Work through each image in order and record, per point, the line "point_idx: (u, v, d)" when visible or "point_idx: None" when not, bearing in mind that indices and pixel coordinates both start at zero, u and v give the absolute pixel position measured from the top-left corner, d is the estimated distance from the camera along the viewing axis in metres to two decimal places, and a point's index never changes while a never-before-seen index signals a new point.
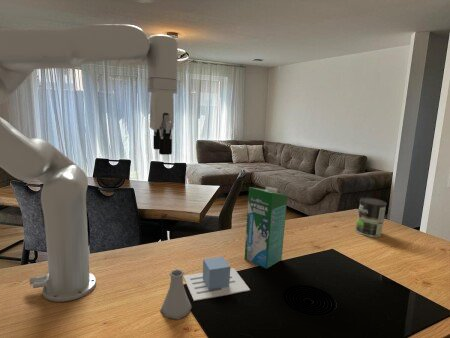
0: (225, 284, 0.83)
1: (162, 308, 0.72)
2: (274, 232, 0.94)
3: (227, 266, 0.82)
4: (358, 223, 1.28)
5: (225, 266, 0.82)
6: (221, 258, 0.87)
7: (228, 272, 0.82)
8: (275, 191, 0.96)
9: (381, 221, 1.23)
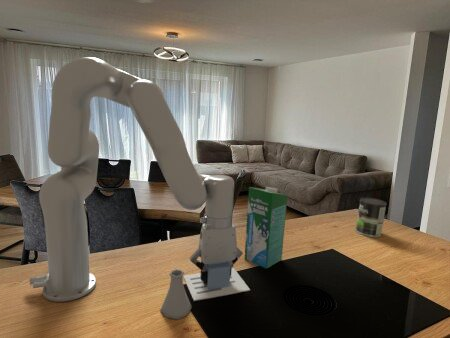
0: (225, 284, 0.83)
1: (162, 308, 0.72)
2: (274, 232, 0.94)
3: (227, 266, 0.82)
4: (358, 223, 1.28)
5: (225, 266, 0.82)
6: None
7: (228, 272, 0.82)
8: (275, 191, 0.96)
9: (381, 221, 1.23)
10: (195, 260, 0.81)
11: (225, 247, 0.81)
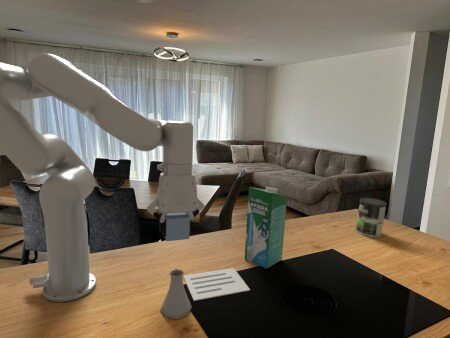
0: (185, 236, 0.79)
1: (162, 308, 0.72)
2: (274, 232, 0.94)
3: (187, 217, 0.78)
4: (358, 223, 1.28)
5: (184, 217, 0.78)
6: None
7: (188, 223, 0.79)
8: (275, 191, 0.96)
9: (381, 221, 1.23)
10: (152, 210, 0.77)
11: (184, 196, 0.77)
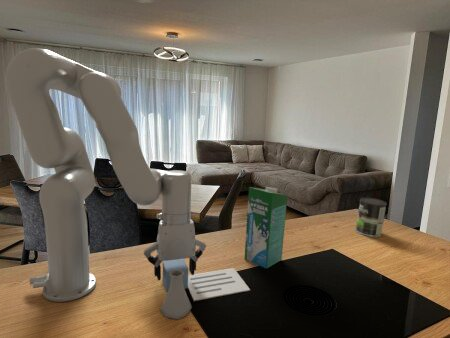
0: (184, 286, 0.82)
1: (162, 308, 0.72)
2: (274, 232, 0.94)
3: (185, 268, 0.81)
4: (358, 223, 1.28)
5: (183, 268, 0.81)
6: (182, 259, 0.86)
7: (186, 274, 0.81)
8: (275, 191, 0.96)
9: (381, 221, 1.23)
10: (148, 254, 0.79)
11: (183, 244, 0.79)
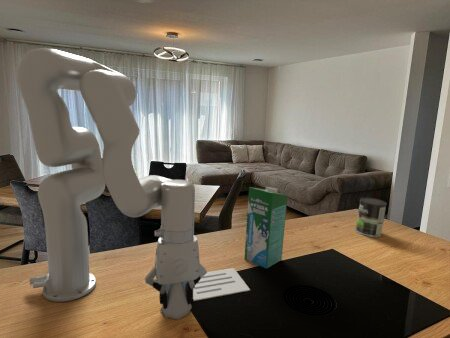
0: (184, 286, 0.82)
1: (162, 308, 0.72)
2: (274, 232, 0.94)
3: None
4: (358, 223, 1.28)
5: None
6: None
7: None
8: (275, 191, 0.96)
9: (381, 221, 1.23)
10: (151, 281, 0.69)
11: (185, 265, 0.69)
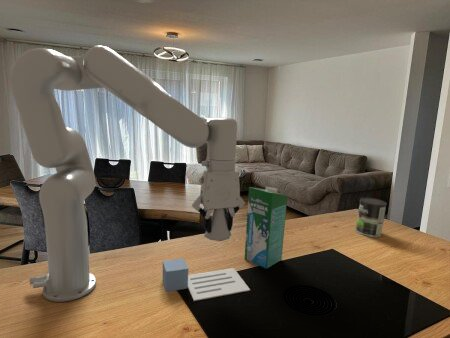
0: (184, 286, 0.82)
1: (206, 233, 0.81)
2: (274, 232, 0.94)
3: (185, 268, 0.81)
4: (358, 223, 1.28)
5: (183, 268, 0.81)
6: (182, 259, 0.86)
7: (186, 274, 0.81)
8: (275, 191, 0.96)
9: (381, 221, 1.23)
10: (198, 206, 0.78)
11: (228, 192, 0.78)
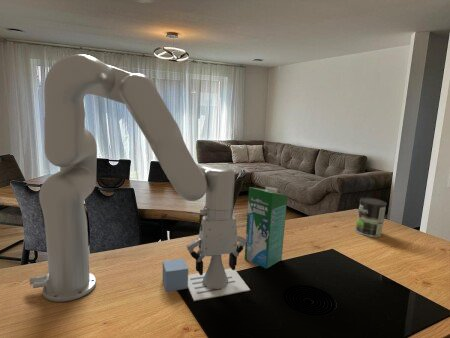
0: (184, 286, 0.82)
1: (203, 280, 0.84)
2: (274, 232, 0.94)
3: (185, 268, 0.81)
4: (358, 223, 1.28)
5: (183, 268, 0.81)
6: (182, 259, 0.86)
7: (186, 274, 0.81)
8: (275, 191, 0.96)
9: (381, 221, 1.23)
10: (192, 249, 0.80)
11: (225, 239, 0.80)
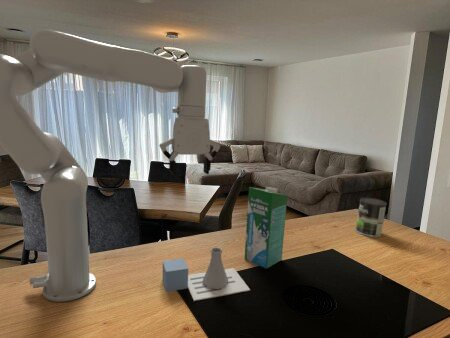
0: (184, 286, 0.82)
1: (203, 280, 0.84)
2: (274, 232, 0.94)
3: (185, 268, 0.81)
4: (358, 223, 1.28)
5: (182, 268, 0.81)
6: (182, 259, 0.86)
7: (186, 274, 0.81)
8: (275, 191, 0.96)
9: (381, 221, 1.23)
10: (164, 147, 0.81)
11: (198, 138, 0.81)
